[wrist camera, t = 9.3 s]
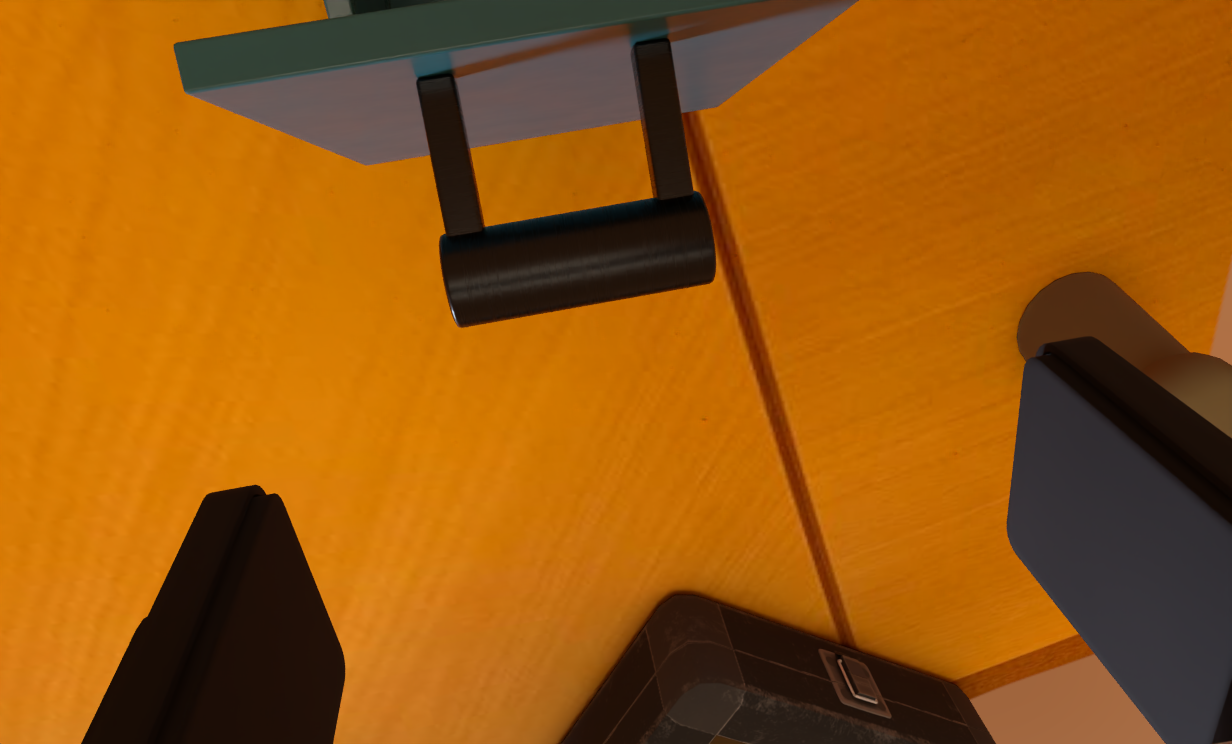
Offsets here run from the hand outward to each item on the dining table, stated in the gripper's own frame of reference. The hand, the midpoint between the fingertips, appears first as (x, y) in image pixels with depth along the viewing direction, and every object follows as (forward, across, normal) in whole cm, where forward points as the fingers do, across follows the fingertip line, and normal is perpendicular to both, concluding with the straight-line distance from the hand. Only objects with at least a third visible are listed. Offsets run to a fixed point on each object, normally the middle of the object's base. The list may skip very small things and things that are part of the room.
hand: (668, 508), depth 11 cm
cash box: (+32, -7, +46) cm, 56 cm away
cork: (+32, -26, +18) cm, 45 cm away
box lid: (+14, +1, -3) cm, 14 cm away
